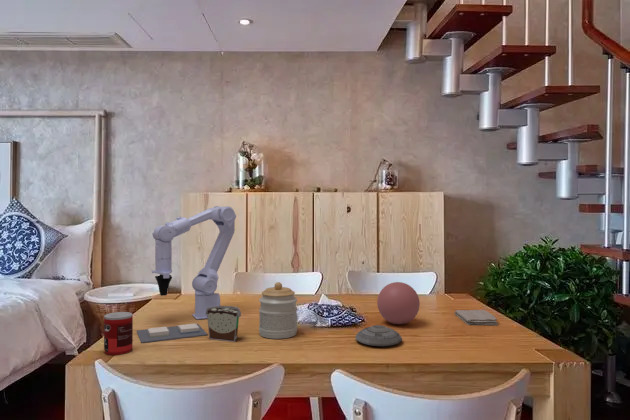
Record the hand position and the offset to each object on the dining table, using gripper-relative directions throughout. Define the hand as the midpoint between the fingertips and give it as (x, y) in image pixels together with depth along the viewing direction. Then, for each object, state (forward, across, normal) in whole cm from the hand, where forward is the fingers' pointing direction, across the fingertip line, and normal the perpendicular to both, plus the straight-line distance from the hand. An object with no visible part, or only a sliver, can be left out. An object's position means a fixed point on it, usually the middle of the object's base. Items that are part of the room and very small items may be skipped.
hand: (163, 295), depth 173 cm
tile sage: (+9, +13, -4) cm, 16 cm away
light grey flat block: (+9, +13, +6) cm, 17 cm away
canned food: (+11, +28, -17) cm, 34 cm away
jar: (+11, +31, +33) cm, 47 cm away
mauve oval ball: (+11, +35, +79) cm, 87 cm away
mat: (+10, +15, 0) cm, 18 cm away
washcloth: (+11, +45, +109) cm, 118 cm away
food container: (+11, +28, +16) cm, 34 cm away
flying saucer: (+11, +53, +59) cm, 80 cm away
